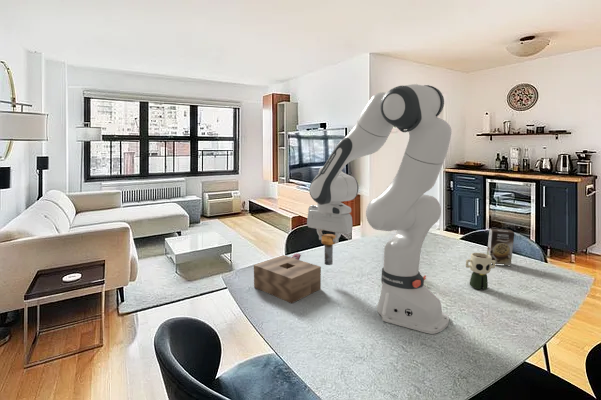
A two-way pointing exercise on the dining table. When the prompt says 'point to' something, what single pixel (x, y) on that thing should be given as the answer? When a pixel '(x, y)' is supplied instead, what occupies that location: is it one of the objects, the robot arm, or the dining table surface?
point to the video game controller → (296, 256)
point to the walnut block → (287, 278)
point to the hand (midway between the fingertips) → (328, 241)
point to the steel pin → (328, 247)
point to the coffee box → (500, 245)
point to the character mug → (480, 269)
